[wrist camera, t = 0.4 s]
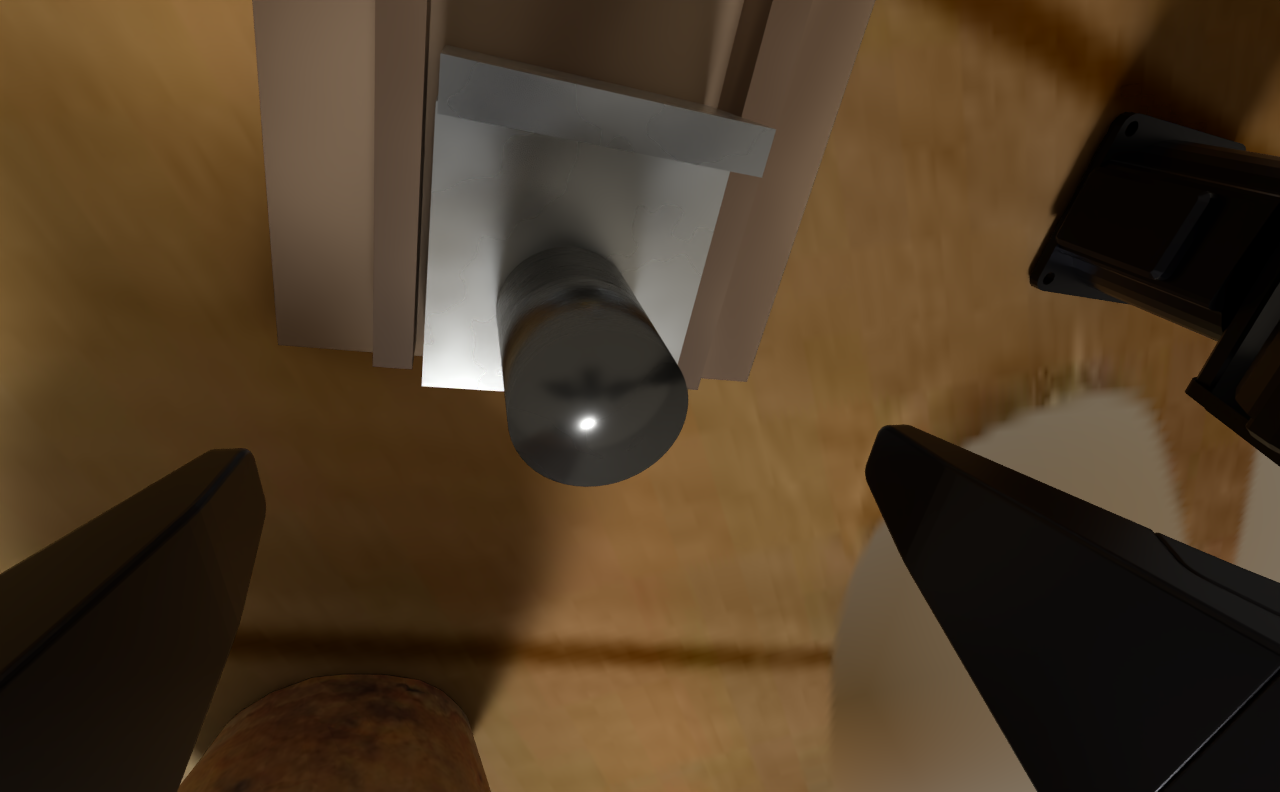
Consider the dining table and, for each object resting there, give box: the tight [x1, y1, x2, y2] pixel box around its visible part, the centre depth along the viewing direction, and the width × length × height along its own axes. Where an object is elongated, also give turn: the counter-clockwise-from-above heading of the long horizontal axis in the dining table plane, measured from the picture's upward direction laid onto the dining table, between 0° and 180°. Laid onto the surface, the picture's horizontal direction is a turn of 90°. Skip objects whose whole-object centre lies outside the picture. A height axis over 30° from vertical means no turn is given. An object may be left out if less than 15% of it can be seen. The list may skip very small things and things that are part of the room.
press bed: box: [252, 0, 875, 390], centre depth 16 cm, size 15×16×3 cm
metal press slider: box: [422, 45, 776, 487], centre depth 14 cm, size 7×8×7 cm
